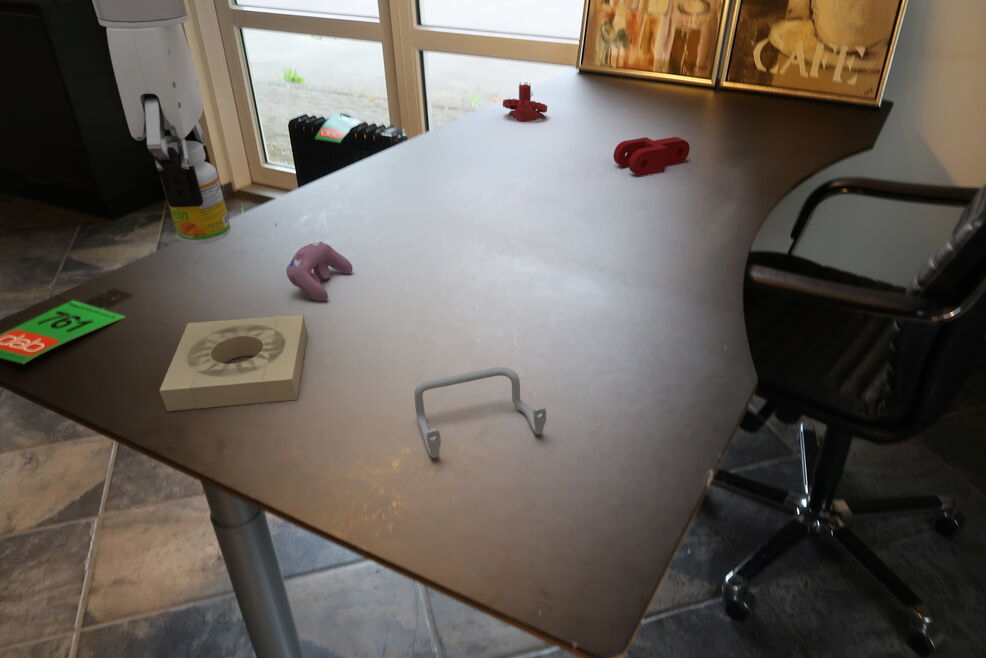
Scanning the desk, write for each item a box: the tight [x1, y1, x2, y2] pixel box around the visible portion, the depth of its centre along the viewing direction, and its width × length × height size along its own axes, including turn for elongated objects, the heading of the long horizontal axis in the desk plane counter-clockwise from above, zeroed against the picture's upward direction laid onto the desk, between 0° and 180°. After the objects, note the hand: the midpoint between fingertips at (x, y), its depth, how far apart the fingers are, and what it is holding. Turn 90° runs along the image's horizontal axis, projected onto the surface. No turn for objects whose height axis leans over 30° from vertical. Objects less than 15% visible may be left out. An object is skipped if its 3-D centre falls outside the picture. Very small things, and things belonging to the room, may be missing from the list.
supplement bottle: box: [160, 141, 232, 245], centre depth 74 cm, size 5×5×10 cm
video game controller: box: [286, 241, 354, 302], centre depth 101 cm, size 10×5×7 cm, turn 168°
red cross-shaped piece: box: [502, 82, 548, 123], centre depth 170 cm, size 11×12×8 cm
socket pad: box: [159, 314, 308, 412], centre depth 84 cm, size 14×14×3 cm
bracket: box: [414, 366, 547, 459], centre depth 76 cm, size 13×8×5 cm, turn 110°
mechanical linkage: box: [613, 136, 691, 177], centre depth 145 cm, size 16×7×5 cm, turn 119°
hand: (193, 192), depth 74 cm, fingers closed on supplement bottle, 5 cm apart
